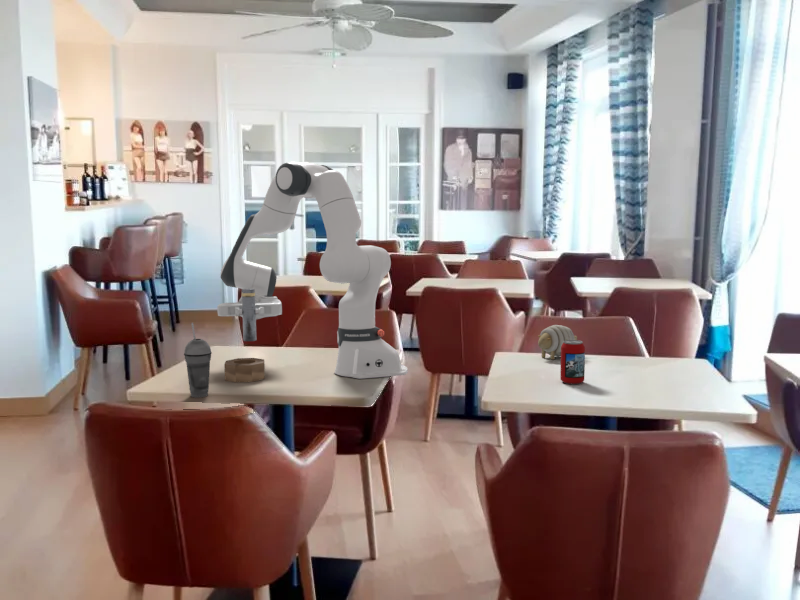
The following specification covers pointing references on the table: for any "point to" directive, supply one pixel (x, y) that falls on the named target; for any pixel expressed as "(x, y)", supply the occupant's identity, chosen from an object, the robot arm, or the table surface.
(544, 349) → the toy sheep
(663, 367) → the table surface
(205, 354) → the beverage cup
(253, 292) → the gold-banded metal cylinder
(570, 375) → the beverage can
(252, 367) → the wooden octagonal ring
